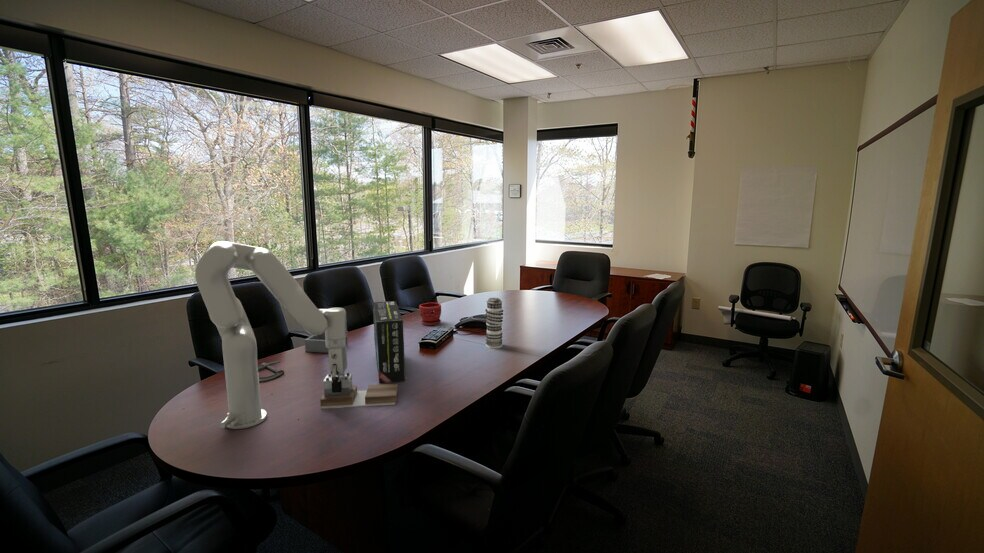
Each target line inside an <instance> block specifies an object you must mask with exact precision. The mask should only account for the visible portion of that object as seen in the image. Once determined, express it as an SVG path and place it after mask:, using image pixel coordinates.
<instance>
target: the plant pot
mask: <svg viewBox="0 0 984 553" xmlns="http://www.w3.org/2000/svg"><path fill="white" fill-rule="evenodd" d="M418 310H419V316H420V318H421V324H423V325H424V326H429V327H430V326H436V325H439V324H440V323H441V322H442V320H441V315H442V304H441V303H440V302H426V303H422V304H419V306H418Z"/></svg>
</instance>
